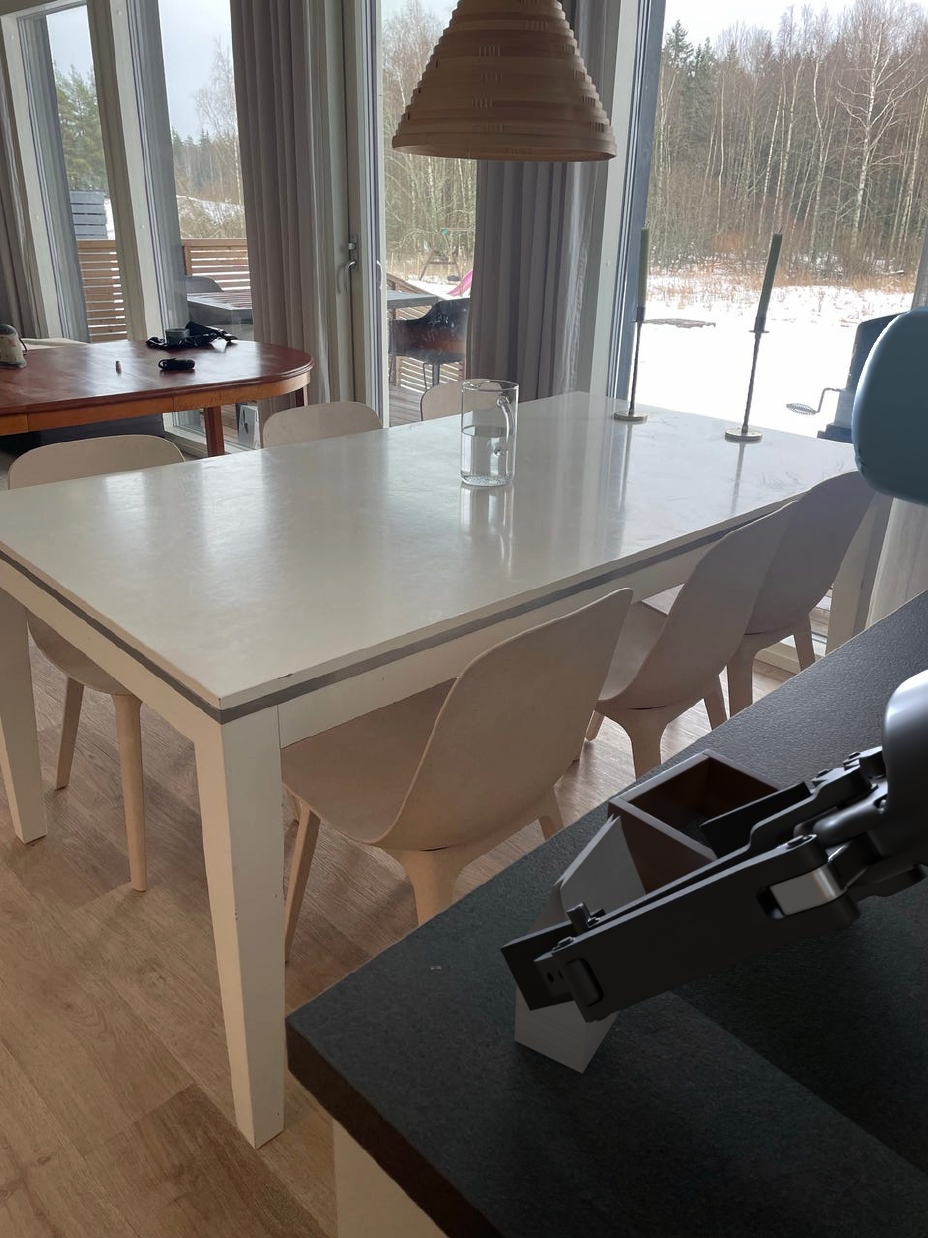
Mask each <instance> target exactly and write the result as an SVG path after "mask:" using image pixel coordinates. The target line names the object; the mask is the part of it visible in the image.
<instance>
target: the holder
mask: <svg viewBox="0 0 928 1238" xmlns="http://www.w3.org/2000/svg"><path fill="white" fill-rule="evenodd" d="M788 787H789V786H788V785H785V784H783V783H781V782H780V781H777V780H774V779H772V778H771V777H768V776H767V775H764V774H762V773H760V772H758V771H756V770H754V769H751V768H749V767H747V766H746V765H743V764H741V763H739V762H737V761H735V760H732V759H731V758H729V757H726V756H724V755H722V754H720V753H718V752H715V751H714V750H712V749H710V748H706V749H705V750H702V751H701V752H699V753H696V754H695V755H693V756H691V757H689V758H687V759H685V760H683V761H682V762H680V763H678V764H675V765H674V766H672V767H670V768H668V769H667V770H665V771H663V772H661V773H659V774H656V775H655V776H653V777H652V778H650V779H648V780H646V781H644V782H642V783H640V784H639V785H636V786H635V787H633V788H631V789H629V790H627V791H625V792H623V793H622V794H620V795H618V796H615V797H614V798H612V799H610V800H608V802H607V812H606V813H607V816H606V822H607V821H608V819H609V818H610V817H611V816H612V815H613V818H612V821H613V820H615V819H616V818H617V817H619V816H620V818H621V825H622V830H623V833H624V837H625V840H626V843H627V846H628V849H629V852H630V854H631V857H632V859H633V862H634V865H635V867H636V870H637V872H638V875H639V877H640V880H641V882H642V885H643V888H644V890H645V892H647V894H649V893H651V892H653V891H655V890H657V889H659V888H661V887H664V886H666V885H668V884H670V883H672V882H674V881H676V880H678V879H680V878H682V877H684V876H686V875H688V874H690V873H692V872H694V871H696V870H698V869H700V868H702V867H704V866H706V865H708V864H710V863H712V862H714V861H716V860H718V859H717V857H716V855H715V854H714V852H713V850H712V848H709V847H708V846H705V845H703V844H702V843H700V842H698V841H696V840H695V839H694V838H691V837H690V836H688V835H686V834H684V833H682V832H681V831H680V830H683V828H685V827H687V826H688V825H691V824H692V823H694V822H695V821H696V820H697V821H698V819H700V818H702V817H705V818H706V819H708V820H711V819H713V818H716V817H718V816H721V815H723V814H725V813H728V812H730V811H733V810H735V809H737V808H740V807H742V806H745V805H747V804H749V803H752V802H754V801H756V800H759V799H761V798H764V797H766V796H768V795H771V794H773V793H776V792H778V791H780V790H783V789H785V788H788Z"/></svg>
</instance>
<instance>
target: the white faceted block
mask: <svg viewBox="0 0 928 1238" xmlns="http://www.w3.org/2000/svg"><path fill="white" fill-rule="evenodd" d="M612 818H613V815H612V816H611V817H610V818H609V819H608V821H607V820H606V822H605V823H604V824H603V825H602V827H601V828H600V829H599V830H598V831H597V833H596V834H595V835H594V836H593V838H591V840H590V841H589V842H588V844H586V846H585V847H584V848H583V849H582V851H580V853H579V854H578V855H577V856H576V858H575V859H574V860H573V862H572V863H570V865H569V866H568V867H567V869H566V870H565V871H564V872H563V873H562V875H561V876H560V877H559V879H558V880H557V881H556V882H555V883H554V884H553V885H552V888H551V891H550V894H549V898H548V900H547V901H546V904H545V906H544V907H543V909H542V911H541V913H540V915H539V916H538V917H537V919H536V920H535V922H534V923H533V925H532V926H531V927H530V928H529V930H528V931H527V932H526V934H525V936H527V935H529V934H532V933H535V932H538V931H541V930H543V929H546V928H549V927H552V926H555V925H557V924H560V923H563V922H566V921H569V920H570V919H569V917H568V915H567V913H566V912H567V911H568V910H569V909H571V908H572V907H574V906H576V905H578V904H579V903H581V902H583V901H584V903H585V905H586V906H587V908H588V910H589V912H590V913H591V912H594V911H597V910H600V909H602V908H603V909H604V911H605V913H606V915H607V914H609V913H611V912H613V911H615V910H617V909H619V908H621V907H623V906H625V905H627V904H629V903H631V902H633V901H635V900H637V899H639V898H641V897H643V896H645V895H647V893H646V891H645V890H644V888H643V885H642V882H641V880H640V877H639V875H638V872H637V870H636V867H635V865H634V862H633V859H632V857H631V854H630V852H629V849H628V846H627V843H626V840H625V837H624V833H623V830H622V825H621V818H620V816H619V817H617V818H616V819H615V820H613V821H612ZM515 992H516V993H515V1019H514V1041H515V1042H517V1043H518V1044H521V1045H523V1046H525V1047H527V1048H528V1049H531V1050H532V1051H535V1052H537V1053H539V1054H541V1055H543V1056H546V1057H548V1058H549V1059H551V1060H554V1061H556V1062H558V1063H560V1064H562V1065H564V1066H567V1067H568V1068H570V1069H572V1070H574V1071H576V1072H578V1073H579V1074H584V1072H585V1070H586V1068H587V1067H588V1065H589V1064H590V1062H591V1060H592V1059H593V1057H594V1055H595V1054H596V1052H597V1050H598V1049H599V1048H600V1046H601V1044H602V1042H603V1041H604V1039H605V1038H606V1036H607V1034H608V1032H609V1031H610V1029H611V1027H612V1026H613V1024H614V1022H615V1021H616V1019H617V1018H618V1016H619V1015H620V1013H621V1011H622V1010H620V1011H617V1012H615V1013H612V1014H610V1015H609V1016H608V1017H607V1018H605V1019H603V1020H601V1021H596V1020H595V1021H593V1022H591V1023H589V1022H585V1020H584V1018H583V1016H582V1014H581V1012H580V1010H579V1008H578V1007H577V1005H576V1003H575V1001H570V1002H566V1003H562V1004H558V1005H553V1006H549V1007H545V1008H541V1009H536V1010H532V1011H530V1010H529V1008H528V1006H527V1004H526V1001H525V999H524V997H523V995H522V993H521V991H520V989H519V987H518V985H517V984H516V991H515Z"/></svg>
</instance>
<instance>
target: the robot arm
mask: <svg viewBox="0 0 928 1238" xmlns="http://www.w3.org/2000/svg"><path fill="white" fill-rule="evenodd" d="M851 442H852V445H853V449H854V454H855V455H854V462H855V464H856V468H857V470H858V473H859V474H860V476H861V478H862V479H863V481H864V482H865V483H866V485H868V486H869V487H870V488H871V489H873V490H874V491H876V492H878V493H879V494H881V495H884V496H888V497H891V498H893V499H897V500H900V501H904V502H907V503H911V504H914V505H918V506H921V507H925V508H928V305H926V306H925V305H923V306H917V307H915V308H913V309H911V310H909V311H908V312H905V313H900V314H898V315H897V316H896V317H895V318H894V319H893V320H892V321H890V322H889V323H888V325H887V326H886V327H885V328H884V329H883V331H882V332H881V333H880V335H879V336H878V338H877V339H876V341H875V343H874V344H873V346H872V348H871V350H870V351H869V354H868V357H867V358H866V361H865V363H864V365H863V369H862V372H861V375H860V378H859V381H858V384H857V387H856V391H855V397H854V402H853V408H852V415H851ZM880 742H881V745H880V746H876V747H873V748H870V749H866V750H864V751H854V752H853V753H850V754H849V755H847V759H845V760H844V761H842V765H843V767H835V768H833V767H832V768H829V769H826V768H825V769H823V770H821V771H819V772H817V773H816V775H815V777H814V778H812V779H811V780H810V781H811V783H812V785H813V786H814V788H812V789H809V787H808V785H807V784H806V782H805V780H802V781H800V782H797V783H795V784H793V785H790V786H787V787H788V788H785V789H783V790H780V791H778V792H776V793H773V794H771V795H768V796H766V797H764V798H761V799H759V800H756V801H754V802H752V803H749V804H747V805H745V806H742V807H740V808H737V809H735V810H733V811H730V812H728V813H725V814H723V815H721V816H718V817H716V818H713V819H711V820H710V819H708V820H707V821H705V822H703V823H702V824H701V825H699V828H700V831H701V832H702V834H703V837H704V838H705V839H706V841H707V843H708V845H709V847H710V849H711V850H712V851H713V852H714V854H715V855H716V857H717V859H718V860H716V861H714V862H712V863H710V864H708V865H706V866H704V867H702V868H700V869H698V870H696V871H694V872H692V873H690V874H688V875H686V876H684V877H682V878H680V879H678V880H676V881H674V882H672V883H670V884H668V885H666V886H664V887H661V888H659V889H657V890H655V891H653V892H651V893H646V895H645V896H643V897H641V898H639V899H637V900H635V901H633V902H631V903H629V904H627V905H625V906H623V907H621V908H619V909H617V910H615V911H613V912H611V913H609V914H607V915H606V913H605V911H604V909H603V908H602V909H600V910H597V911H594V912H591V913H590V912H589V910H588V908H587V906H586V905H585V903H584V901H583V902H581V903H579V904H578V905H576V906H574V907H572V908H571V909H569V910H568V911H567V912H566V913H567V915H568V917H569V919H570V920H569V921H566V922H563V923H560V924H557V925H555V926H552V927H549V928H546V929H543V930H541V931H538V932H535V933H532V934H529V935H527V936H526V935H524V936H521V937H518V938H516V939H512V940H511V941H509V942H508V943H506V944H505V945H502V946H501V947H499V950H500V952H501V954H502V956H503V958H504V960H505V963H506V964H507V966H508V969H509V970H510V973H511V975H512V977H513V979H514V981H515V983H516V986H517V985H518V987H519V989H520V991H521V993H522V995H523V997H524V999H525V1001H526V1004H527V1006H528V1008H529V1010H530V1011H532V1010H536V1009H541V1008H545V1007H549V1006H553V1005H558V1004H562V1003H566V1002H570V1001H575V1003H576V1005H577V1007H578V1008H579V1010H580V1012H581V1014H582V1016H583V1018H584V1020H585V1022H589V1023H591V1022H593V1021H595V1020H596V1021H601V1020H603V1019H605V1018H607V1017H608V1016H609V1015H610V1014H612V1013H615V1012H617V1011H620V1010H621V1011H622V1010H625V1009H627V1008H629V1007H631V1006H634V1005H637V1004H640V1003H642V1002H645V1001H647V1000H650V999H652V998H654V997H657V996H659V995H662V994H665V993H667V992H670V991H672V990H675V989H677V988H679V987H683V986H685V985H688V984H690V983H692V982H694V981H697V980H700V979H703V978H705V977H708V976H709V975H712V974H715V973H717V972H720V971H722V970H725V969H727V968H731V967H732V966H735V965H738V964H740V963H742V962H745V961H748V960H750V959H752V958H756V957H758V956H759V955H763V954H765V953H768V952H770V951H773V950H775V949H777V948H780V947H783V946H785V945H788V944H792V943H794V942H798V941H802V940H805V939H809V938H812V937H816V936H819V935H822V934H826V933H829V932H833V931H837V932H840V931H841V932H842V931H844V930H847V929H849V928H850V927H852V926H853V925H854V922H855V921H858V920H859V919H860V918H861V916H862V915H863V913H862V911H861V909H860V907H859V905H858V903H859V902H861V901H863V900H865V899H868V898H869V897H873V896H875V897H881V898H887V897H892V896H893V895H896V894H898V893H900V892H902V891H904V890H906V889H908V888H911V887H913V886H915V885H917V884H919V883H921V882H922V881H923V880H925V879H926V878H927V877H928V874H927V872H926V870H925V869H924V868H923V866H924V867H927V868H928V669H925V670H924V671H922V672H920V673H917V674H915V675H914V676H912V677H909V678H908V679H907V680H905V681H903V682H902V683H901V684H900V685H898V687H897V688H896V689H895V690H894V691H893V693H892V694H891V696H890V697H889V700H888V702H887V703H886V706H885V709H884V712H883V717H882V721H881V731H880ZM621 1011H620V1012H621Z"/></svg>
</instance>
